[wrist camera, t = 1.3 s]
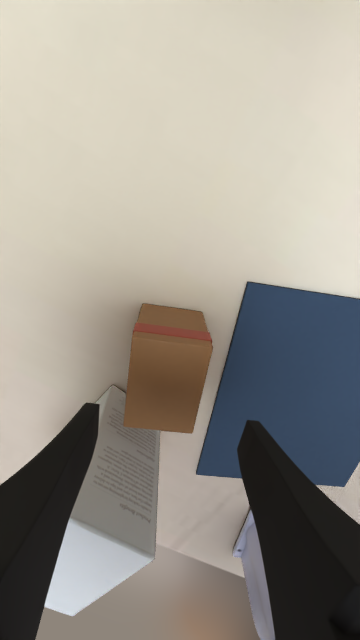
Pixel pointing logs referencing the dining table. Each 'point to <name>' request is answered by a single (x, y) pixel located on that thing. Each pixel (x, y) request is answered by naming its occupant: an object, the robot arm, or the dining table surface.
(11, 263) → the dining table surface
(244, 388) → the napkin
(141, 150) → the dining table surface
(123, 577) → the small box
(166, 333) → the packet
